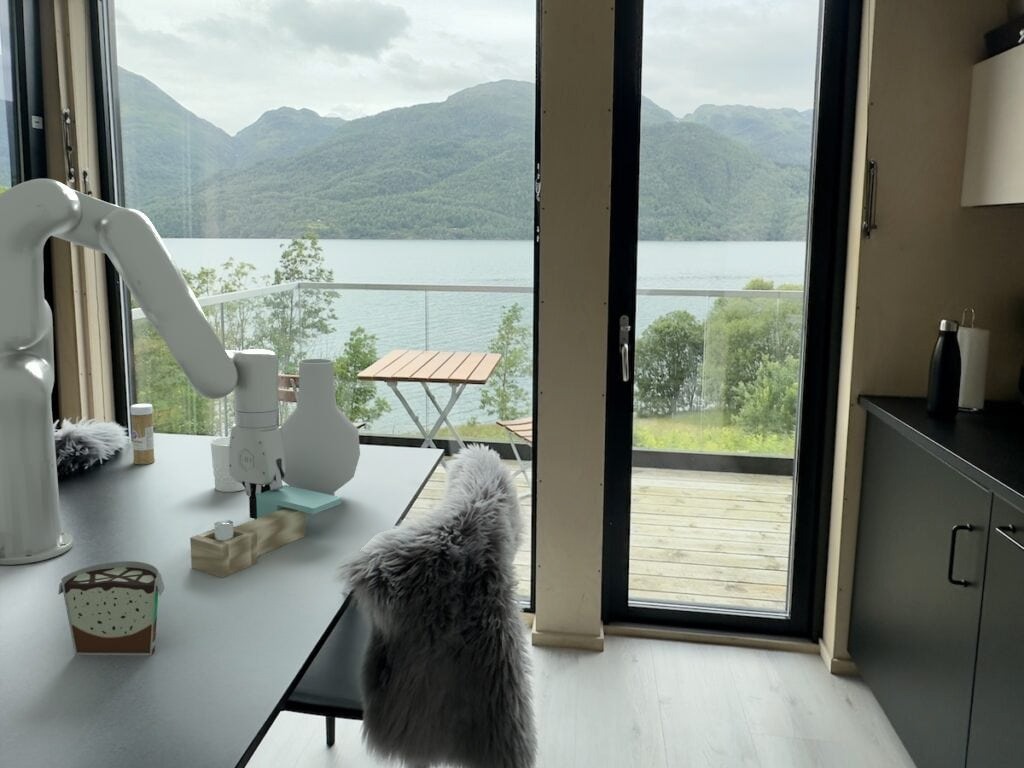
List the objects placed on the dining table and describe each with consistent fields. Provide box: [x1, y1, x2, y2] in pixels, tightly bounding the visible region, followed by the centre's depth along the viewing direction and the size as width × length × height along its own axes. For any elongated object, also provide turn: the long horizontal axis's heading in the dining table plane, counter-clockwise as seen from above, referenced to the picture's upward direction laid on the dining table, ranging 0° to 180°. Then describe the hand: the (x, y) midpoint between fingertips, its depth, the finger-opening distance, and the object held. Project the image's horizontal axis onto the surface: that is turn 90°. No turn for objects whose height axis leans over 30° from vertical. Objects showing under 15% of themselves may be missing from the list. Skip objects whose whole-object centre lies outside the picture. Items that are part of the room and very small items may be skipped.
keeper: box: [256, 484, 343, 525], centre depth 142 cm, size 7×14×6 cm, turn 61°
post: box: [213, 519, 234, 542], centre depth 127 cm, size 3×3×7 cm
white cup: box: [210, 436, 246, 493], centre depth 166 cm, size 8×8×10 cm
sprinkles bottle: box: [129, 403, 156, 466], centre depth 183 cm, size 5×5×14 cm
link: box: [189, 508, 306, 579], centre depth 133 cm, size 20×7×5 cm, turn 151°
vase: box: [279, 358, 361, 496], centre depth 159 cm, size 17×16×28 cm
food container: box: [57, 560, 165, 656], centre depth 102 cm, size 12×6×10 cm, turn 92°
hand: (259, 516), depth 147 cm, fingers closed
